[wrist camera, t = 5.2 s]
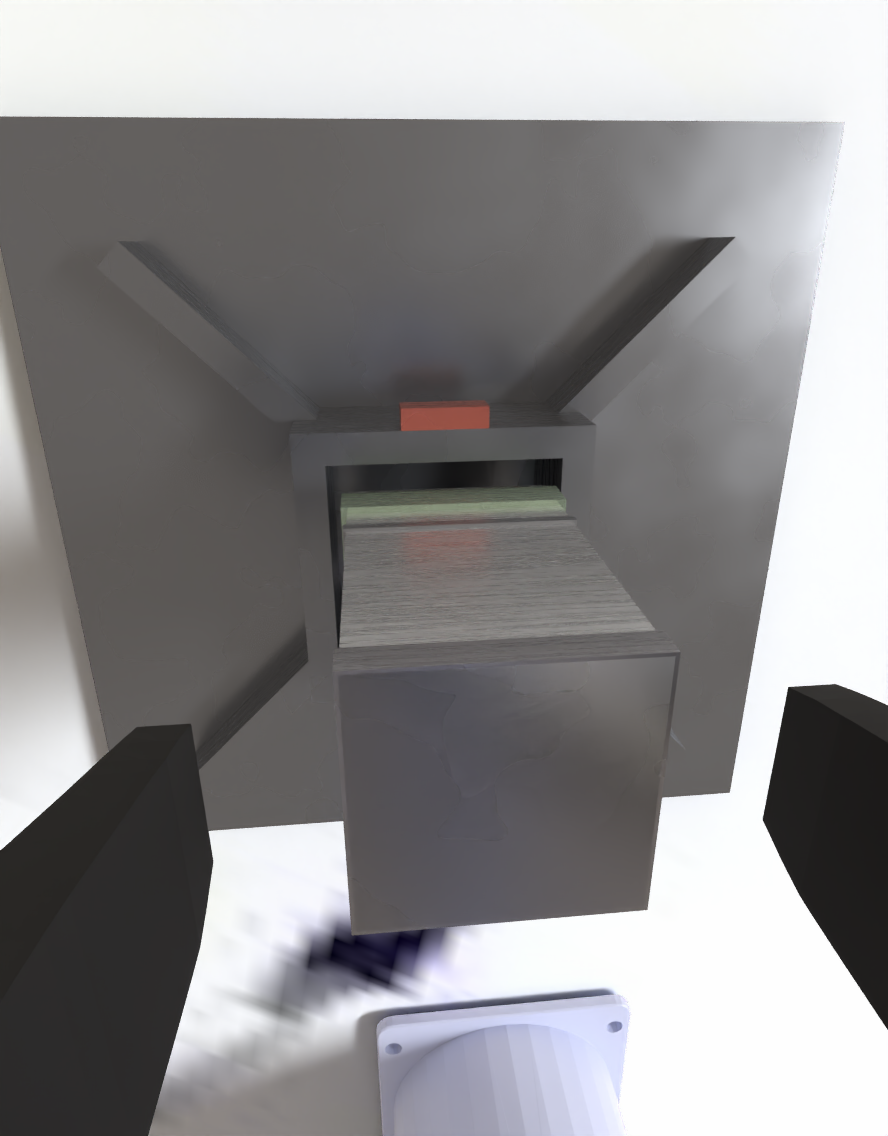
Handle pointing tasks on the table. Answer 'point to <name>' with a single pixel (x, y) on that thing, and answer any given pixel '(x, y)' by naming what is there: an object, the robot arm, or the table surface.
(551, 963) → the table surface
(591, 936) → the table surface
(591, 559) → the grey rectangular block
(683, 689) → the stand base
